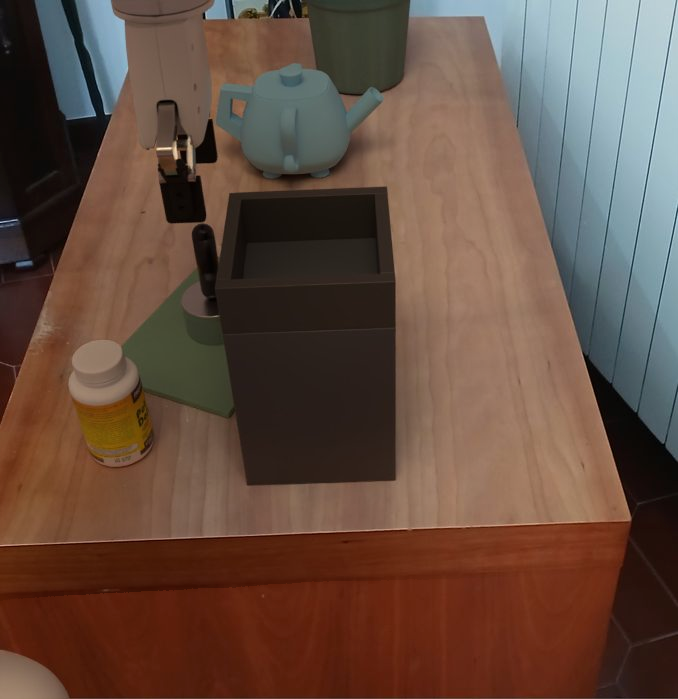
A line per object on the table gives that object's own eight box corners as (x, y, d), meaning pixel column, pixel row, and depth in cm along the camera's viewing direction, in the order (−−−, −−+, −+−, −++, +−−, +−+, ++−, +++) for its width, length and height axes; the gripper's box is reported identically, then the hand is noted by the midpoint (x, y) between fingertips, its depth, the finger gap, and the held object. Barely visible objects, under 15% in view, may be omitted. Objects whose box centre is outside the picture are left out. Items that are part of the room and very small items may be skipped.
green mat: (228, 418, 80) (228, 413, 80) (97, 376, 85) (96, 371, 84) (328, 288, 93) (327, 283, 93) (209, 258, 98) (209, 254, 98)
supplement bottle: (158, 463, 76) (134, 372, 70) (90, 476, 76) (60, 385, 69) (153, 416, 81) (131, 327, 74) (89, 428, 80) (60, 339, 73)
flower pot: (284, 67, 133) (274, -48, 123) (385, 43, 138) (384, -69, 128) (331, 113, 122) (325, -9, 111) (439, 86, 127) (443, -34, 116)
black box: (395, 480, 74) (395, 281, 61) (247, 485, 74) (214, 288, 61) (388, 378, 83) (387, 186, 70) (255, 383, 83) (229, 192, 70)
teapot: (212, 198, 107) (198, 104, 99) (229, 130, 120) (218, 41, 112) (384, 195, 106) (384, 100, 98) (383, 126, 119) (383, 37, 111)
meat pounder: (229, 352, 86) (213, 250, 78) (174, 336, 88) (153, 235, 80) (260, 314, 90) (247, 214, 82) (207, 300, 92) (190, 201, 84)
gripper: (129, -50, 74) (163, 144, 85) (85, 32, 61) (133, 249, 72) (222, -54, 74) (245, 140, 85) (199, 27, 61) (229, 245, 72)
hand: (193, 190), depth 78 cm, fingers open, 9 cm apart
